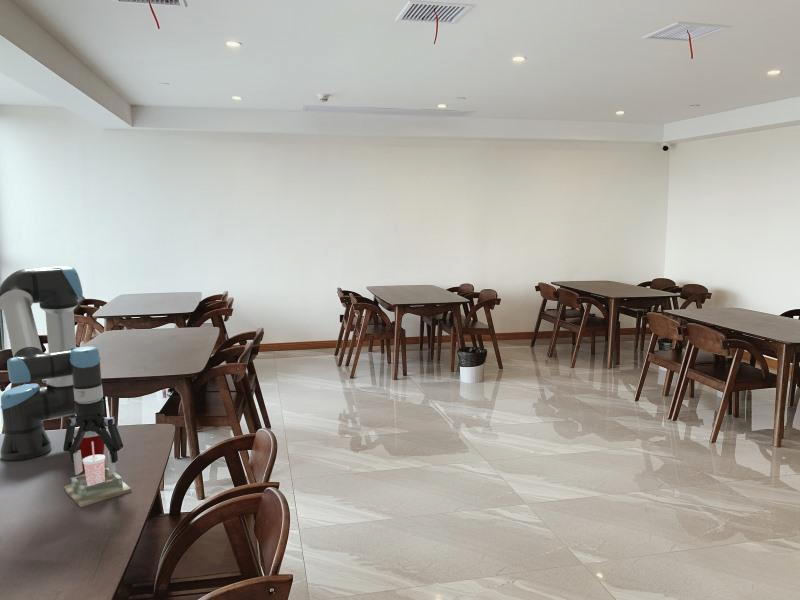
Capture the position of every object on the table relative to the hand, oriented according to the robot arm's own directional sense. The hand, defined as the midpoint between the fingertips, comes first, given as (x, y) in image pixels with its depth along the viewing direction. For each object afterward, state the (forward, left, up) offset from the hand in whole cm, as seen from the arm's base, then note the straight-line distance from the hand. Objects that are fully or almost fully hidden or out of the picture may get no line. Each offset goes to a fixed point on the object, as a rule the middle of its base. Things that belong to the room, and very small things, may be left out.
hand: (95, 472), depth 183 cm
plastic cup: (-21, +5, -6) cm, 22 cm away
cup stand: (0, 0, -6) cm, 6 cm away
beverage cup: (0, 0, -5) cm, 5 cm away
